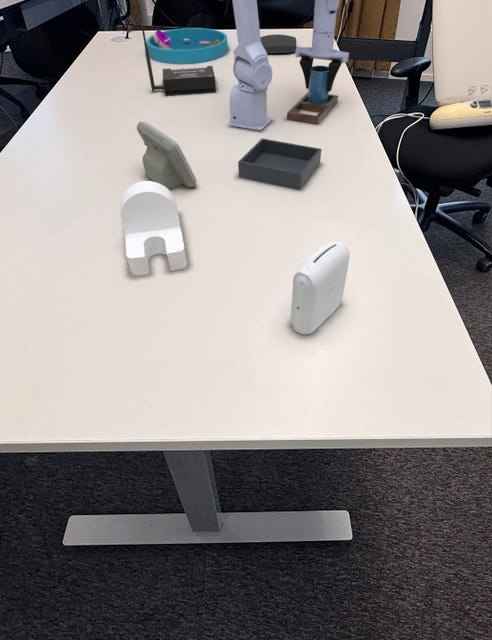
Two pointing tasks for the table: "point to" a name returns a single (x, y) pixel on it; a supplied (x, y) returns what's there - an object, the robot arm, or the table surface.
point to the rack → (305, 105)
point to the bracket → (151, 227)
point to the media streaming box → (278, 43)
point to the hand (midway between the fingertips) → (318, 89)
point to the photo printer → (319, 286)
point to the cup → (318, 84)
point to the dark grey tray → (280, 163)
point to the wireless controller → (183, 79)
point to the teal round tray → (187, 45)
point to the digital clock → (164, 159)
